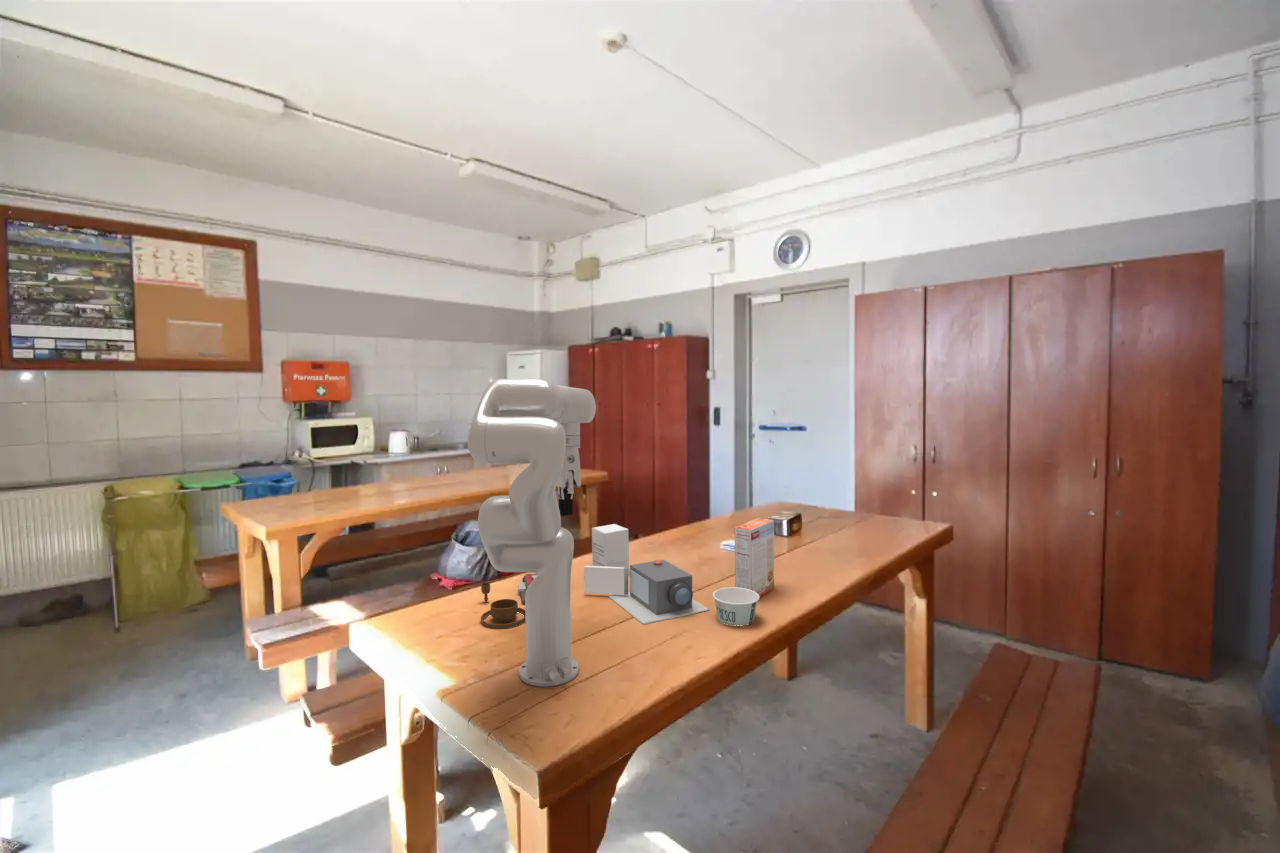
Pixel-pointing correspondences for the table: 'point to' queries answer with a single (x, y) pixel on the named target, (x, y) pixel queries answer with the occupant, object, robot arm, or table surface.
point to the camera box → (658, 593)
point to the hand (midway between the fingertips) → (565, 514)
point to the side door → (606, 580)
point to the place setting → (501, 610)
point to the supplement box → (610, 546)
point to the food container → (735, 605)
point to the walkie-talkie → (525, 585)
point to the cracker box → (755, 555)
